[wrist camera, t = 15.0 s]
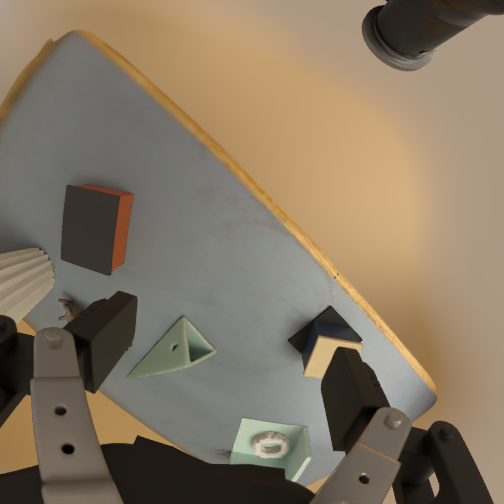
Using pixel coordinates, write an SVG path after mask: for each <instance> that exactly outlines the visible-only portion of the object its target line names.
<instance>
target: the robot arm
mask: <svg viewBox="0 0 504 504" xmlns="http://www.w3.org/2000/svg"><path fill="white" fill-rule="evenodd" d="M386 1H388V2H387V3H386V4H385V6H384V7H383V8H382V10H381V11H380V12H379V13H378V14H377V15H376V17H375V18H374V20H373V32H374V35H375V37H376V39H377V40H378V42H379V43H380V45H381V46H382V47H383V48H384V49H385V50H386V51H387V52H389V53H390V54H392V55H393V56H395V57H397V58H399V59H402V60H406V61H416V60H419V59H421V58H422V57H424V56H425V55H426V54H430V53H433V52H434V51H435V50H434V51H432V50H433V49H435V48H436V47H437V46H439V45H441V44H442V43H444V42H445V41H447V40H448V39H450V38H451V37H453V36H455V35H456V34H458V33H459V32H461V31H463V30H464V29H466V28H467V27H469V26H470V25H472V24H474V23H475V22H477V21H479V20H480V19H482V18H483V17H485V16H487V15H503V14H504V0H386ZM136 313H137V297H136V296H134V295H131V294H128V293H125V292H122V291H118V292H116V293H115V294H114V295H113V296H112V297H111V298H109V299H108V300H107V299H105V298H104V299H101V300H98V301H95V302H93V303H92V304H91V305H89V306H88V307H87V308H86V309H85V310H83V311H82V312H81V314H79V315H77V316H76V317H75V318H74V319H73V320H71V321H70V322H69V323H68V324H67V325H66V326H64V327H63V328H57V327H49V328H45V329H42V330H40V331H39V332H37V333H36V335H35V336H32V335H27V334H23V333H19V332H17V327H16V323H15V321H14V320H13V319H12V318H11V317H9V316H6V315H0V428H1V426H2V425H3V424H4V422H5V421H6V420H7V418H8V417H9V416H10V414H11V413H12V412H13V411H14V409H15V408H16V407H17V405H18V404H19V403H20V402H21V401H22V399H23V398H24V397H25V396H26V395H30V396H31V407H32V420H33V430H34V438H35V446H36V451H37V459H38V464H39V465H36V466H32V467H28V468H25V469H21V470H17V471H13V472H9V473H5V474H0V504H382V503H383V501H384V499H385V497H386V495H387V493H388V491H389V489H390V487H391V485H392V487H393V491H394V495H395V500H396V503H397V504H494V503H493V501H492V498H491V496H490V494H489V491H488V490H487V487H486V485H485V483H484V480H483V478H482V476H481V474H480V472H479V470H478V468H477V466H476V464H475V462H474V460H473V458H472V456H471V454H470V452H469V450H468V448H467V446H466V444H465V442H464V440H463V438H462V436H461V434H460V433H459V431H458V430H457V428H455V427H454V426H453V425H452V424H450V423H448V422H445V421H436V422H434V423H433V424H432V425H431V427H430V428H429V429H428V430H423V429H419V428H415V427H412V426H411V422H410V419H409V418H408V417H407V416H406V415H405V414H404V413H403V412H402V411H400V410H398V409H395V408H392V407H390V405H389V402H388V400H387V398H386V396H385V394H384V392H383V389H382V387H380V386H381V385H380V383H379V381H378V380H377V377H376V375H375V373H374V370H373V369H372V368H371V367H370V366H369V365H368V364H367V363H365V362H363V361H362V359H361V357H360V355H359V353H358V351H357V349H353V348H347V347H341V346H339V347H337V348H336V350H335V352H334V354H333V356H332V359H331V361H330V363H329V365H328V367H327V370H326V372H325V374H324V376H323V379H322V383H321V393H322V397H323V402H324V407H325V412H326V417H327V421H328V426H329V431H330V436H331V441H332V446H333V451H345V453H346V456H345V457H344V458H343V460H342V461H341V462H340V463H339V465H338V466H337V467H336V469H335V470H334V471H333V472H332V474H331V475H330V476H329V478H328V479H327V480H326V481H325V483H324V484H323V485H322V486H321V487H320V488H319V490H318V491H317V492H316V493H315V494H314V493H313V492H312V491H310V490H309V489H307V488H306V487H304V486H302V485H300V484H298V483H296V482H293V481H291V480H288V479H285V468H276V467H268V466H261V465H254V464H209V463H206V462H204V461H202V460H199V459H197V458H195V457H193V456H191V455H189V454H187V453H185V452H183V451H181V450H178V449H176V448H175V447H173V446H169V445H166V444H162V443H159V442H156V441H153V440H150V439H147V438H144V437H141V436H138V435H137V437H136V440H135V442H134V444H127V443H110V444H102V445H100V444H99V441H98V438H97V435H96V431H95V428H94V424H93V421H92V417H91V413H90V410H89V406H88V402H87V398H86V393H85V390H86V391H89V392H91V393H93V394H95V393H96V391H97V390H98V389H99V387H100V386H101V384H102V383H103V382H104V380H105V379H106V377H107V376H108V375H109V373H110V372H111V370H112V369H113V368H114V366H115V365H116V364H117V362H118V361H119V359H120V358H121V357H122V355H123V354H124V353H125V351H126V350H127V349H128V347H129V346H130V344H131V343H132V341H133V338H134V334H135V325H136ZM434 472H435V474H436V477H437V479H438V482H439V492H438V495H437V496H436V497H435V496H434V493H433V491H432V487H431V484H430V481H429V477H430V476H431V475H432V474H433V473H434Z"/></svg>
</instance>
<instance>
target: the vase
mask: <svg viewBox="0 0 504 504" xmlns="http://www.w3.org/2000/svg"><path fill="white" fill-rule="evenodd" d="M51 263H52V260H49V259H48V254H47V255H44V251H43V250H41V251H40V250H39V248H29V249H23V250H18V251H13V252H8V253H3V254H0V315H6V316H9V317H11V318H12V319H13V320H14V321H15V323H16V325H17V323H18V322H20V320H21V319H22V318H23V317H24V316H25V315H26V314H27V313H28V312H29V311H30V310H31V309H32V308H33V307H34V306H35V305H36V304H37V303H38V302H40V301H41V300H42V299H43V298H44V297H45V296H46V295H47V294H48V293H49V292H50V291H51V289H52V288H53V287H54V286H53V283H55V282H56V281H55V279H54V276H55V275H56V274H55V273H54V272H53V270H54V268H55V267H53V266H52V265H51Z"/></svg>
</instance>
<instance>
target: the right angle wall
mask: <svg viewBox="0 0 504 504" xmlns="http://www.w3.org/2000/svg"><path fill="white" fill-rule="evenodd" d="M311 458H312V454H311V446H310V438H309V430H308V427H303V426H294V425H286V424H278V423H271V422H264V421H258V420H252V419H246V418H242V421H241V424H240V428H239V431H238V434H237V437H236V440H235V443H234V446H233V449H232V452H231V457H230V464H254V465H261V466H268V467H276V468H285V479H288V480H291V481H293V482H296V481H297V479H298V478H299V476H300V475H301V473H302V472H303V470H304V469H305V467H306V466H307V464H308V463H309V461H310V460H311Z"/></svg>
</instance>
